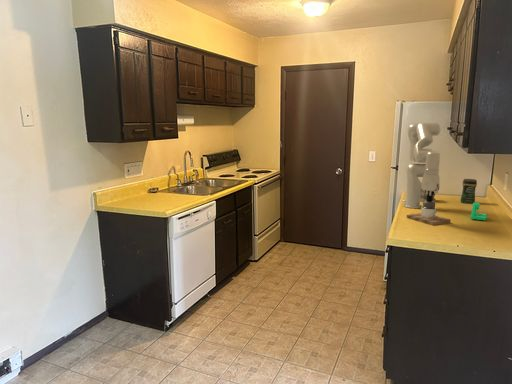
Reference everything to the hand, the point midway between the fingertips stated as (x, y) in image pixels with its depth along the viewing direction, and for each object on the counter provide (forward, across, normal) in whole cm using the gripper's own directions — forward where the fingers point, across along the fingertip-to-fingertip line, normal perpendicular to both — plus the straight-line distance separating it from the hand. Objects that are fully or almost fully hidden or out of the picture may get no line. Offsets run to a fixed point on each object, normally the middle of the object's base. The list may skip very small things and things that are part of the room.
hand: (429, 201), depth 228 cm
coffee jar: (+12, -28, +72) cm, 78 cm away
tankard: (+12, -49, +47) cm, 69 cm away
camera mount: (+12, +10, +33) cm, 36 cm away
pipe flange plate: (+12, 0, 0) cm, 12 cm away
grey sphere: (+7, 0, 0) cm, 7 cm away
